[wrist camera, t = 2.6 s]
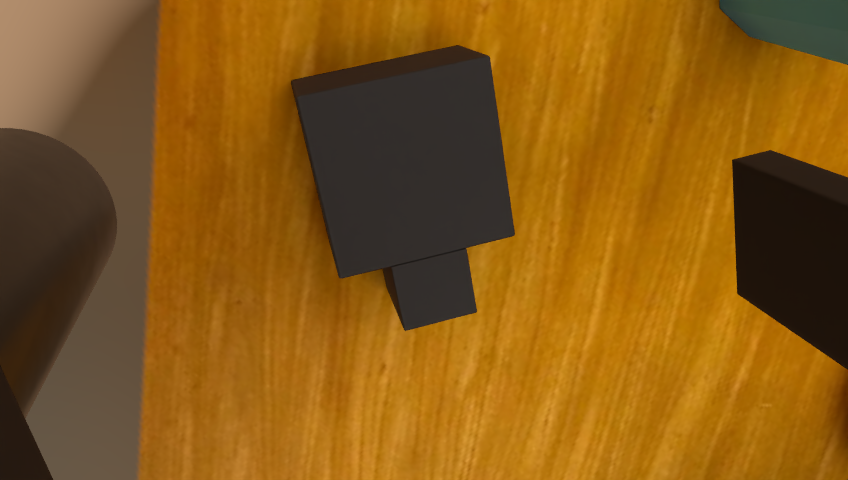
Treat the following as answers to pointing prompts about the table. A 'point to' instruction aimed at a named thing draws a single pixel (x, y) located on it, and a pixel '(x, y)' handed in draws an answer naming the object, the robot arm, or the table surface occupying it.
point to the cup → (795, 24)
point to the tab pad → (409, 173)
